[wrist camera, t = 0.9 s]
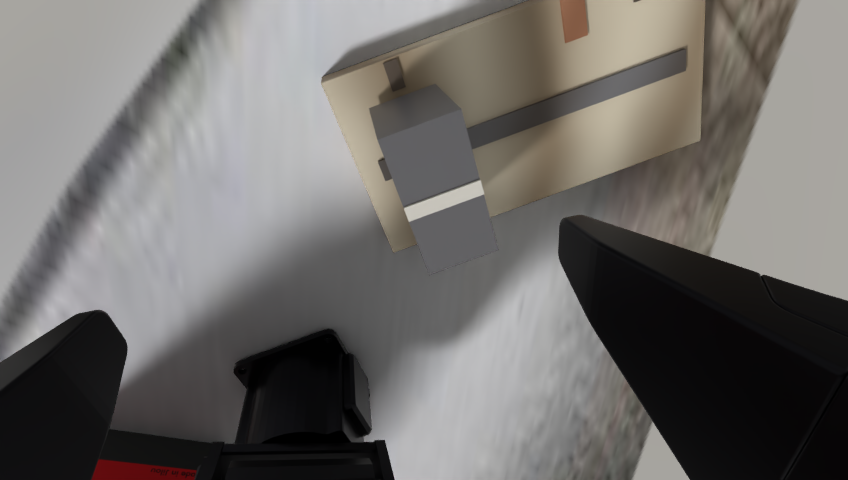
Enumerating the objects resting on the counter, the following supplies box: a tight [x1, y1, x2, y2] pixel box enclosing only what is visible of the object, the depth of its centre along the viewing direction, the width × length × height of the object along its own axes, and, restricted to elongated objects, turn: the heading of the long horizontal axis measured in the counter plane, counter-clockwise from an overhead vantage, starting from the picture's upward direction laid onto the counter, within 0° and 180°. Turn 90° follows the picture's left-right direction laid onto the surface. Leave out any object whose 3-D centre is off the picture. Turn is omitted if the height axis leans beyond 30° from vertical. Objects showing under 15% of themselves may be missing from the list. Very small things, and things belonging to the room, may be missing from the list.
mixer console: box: [321, 0, 705, 253], centre depth 21 cm, size 17×9×2 cm, turn 108°
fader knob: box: [369, 84, 499, 275], centre depth 18 cm, size 3×6×5 cm, turn 18°
